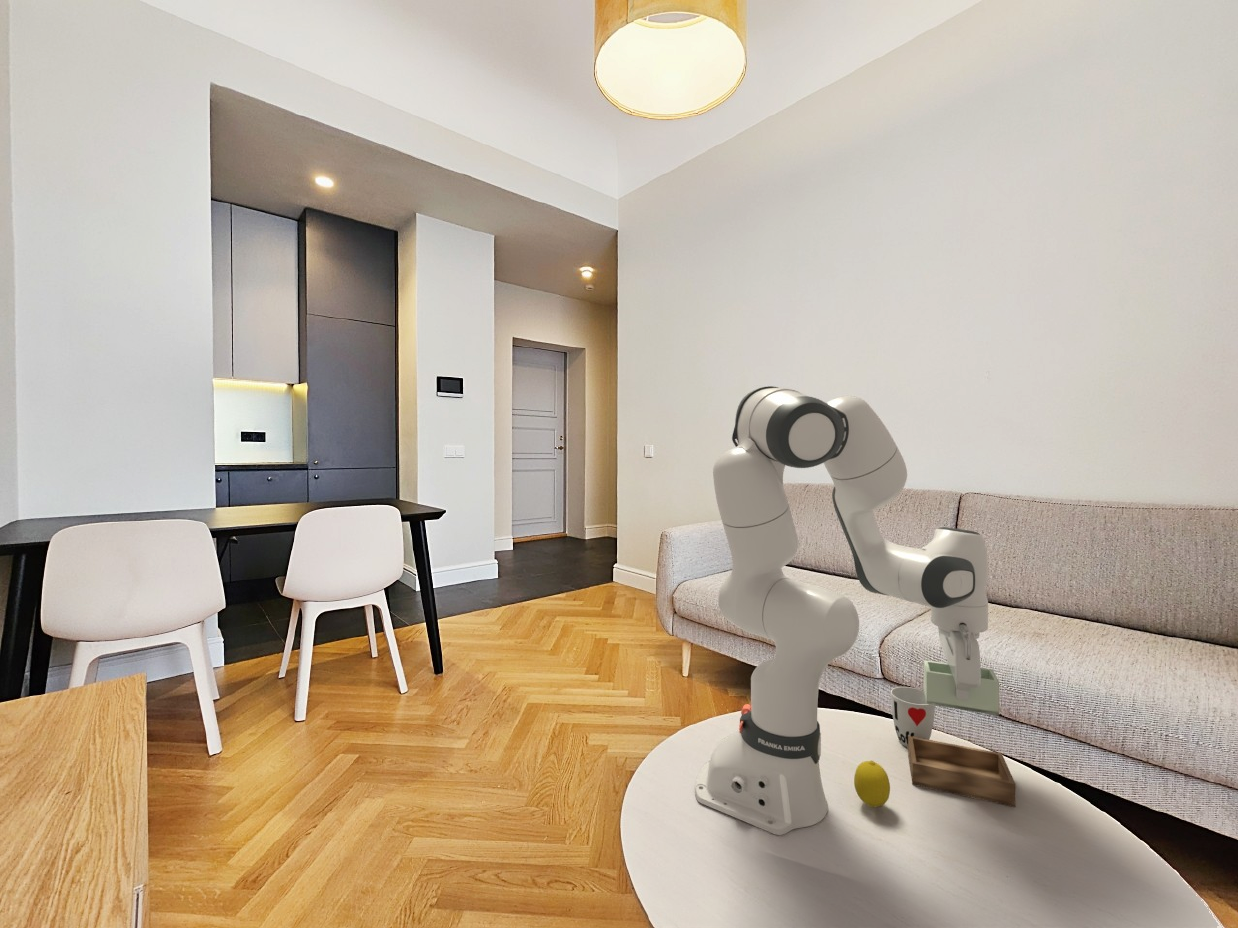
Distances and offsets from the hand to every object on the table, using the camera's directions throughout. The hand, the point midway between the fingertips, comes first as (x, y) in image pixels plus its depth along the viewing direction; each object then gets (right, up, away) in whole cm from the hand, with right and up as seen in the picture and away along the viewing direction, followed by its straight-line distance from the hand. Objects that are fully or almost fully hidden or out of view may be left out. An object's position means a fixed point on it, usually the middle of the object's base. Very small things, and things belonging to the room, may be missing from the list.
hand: (958, 690), depth 98 cm
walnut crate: (0, -17, 0) cm, 17 cm away
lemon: (-19, -17, -7) cm, 27 cm away
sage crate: (0, -2, 0) cm, 2 cm away
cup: (-1, -17, +13) cm, 21 cm away
